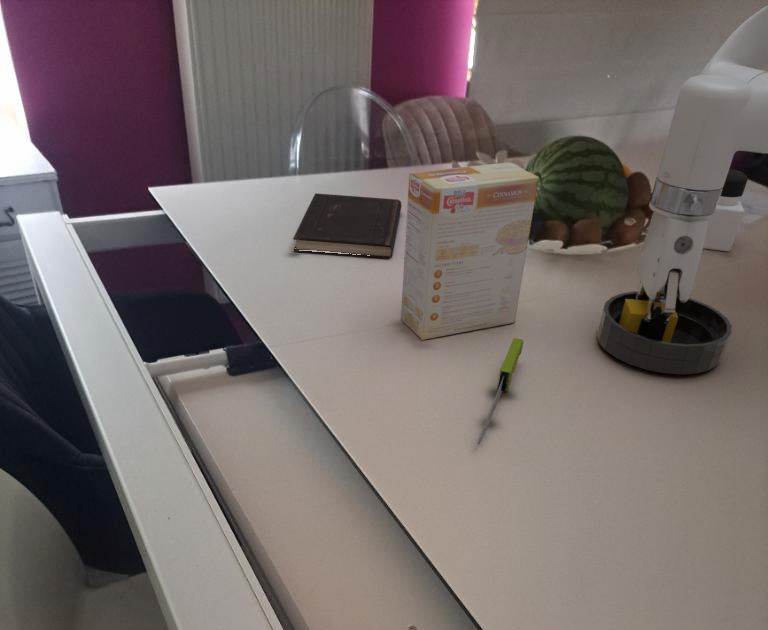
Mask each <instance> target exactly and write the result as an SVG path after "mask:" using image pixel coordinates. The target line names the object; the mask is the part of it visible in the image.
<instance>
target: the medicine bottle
mask: <svg viewBox="0 0 768 630" xmlns="http://www.w3.org/2000/svg"><path fill="white" fill-rule="evenodd" d="M748 180H749V179H748V175H747V174H745V173H744V172H742V171H740V170H737V169H733V168H729V171H728V174H727V177H726V180H725V183H724V186H723V189H722V192H721V195H720V198H719V201H718V204H717V207H716V210H715V214H714V216H713V217H712V218H711V219H708V225H707V232H706V237H705V242H704V246H703V250H704V249H705V250H710V251H711V250H712V251H719V252H726V253H727V252H728V253H729V252H731V251H732V248H733V245H734V242H735V240H736V237H737V234H738V231H739V228H740V226H741V223H742V219H743V217H744V214H745V209H744V207H743V205H742V203H741V200H742V198H743V195H744V192H745V189H746V186H747V183H748Z"/></svg>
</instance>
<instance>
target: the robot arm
mask: <svg viewBox="0 0 768 630" xmlns="http://www.w3.org/2000/svg"><path fill="white" fill-rule="evenodd" d="M767 68H768V4H767V5H766V6H764V7H763V8H760V10H758V11H757V12H755V13H754V14H752V15H751V16H750V17H748V18H747V19H746V20H744V21H743V22H742V23H741V24H740V25H739V26H738V27H737V28H736V29H735V30H734V31H733V32H732V33H730V35H729V36H728V38H727V39H726V40H725V41H724V42H723V44H722V45H721V46H720V48H719V49H717V50H716V52H715V54H714V55H713V56H712V57H711V58H710V60H709V61H708V62H707V63H706V65H705V66H704V68H703V69H702V71H701V72H700V74H698V75H695V76H691V77H689V78H688V79H687V80H686V81H685V82H684V83H683V84H682V86H681V87H680V91H679V94H678V96H677V101H676V103H675V108H674V111H673V115H672V119H671V123H670V125H669V130H668V132H667V133H668V134H667V136H666V141H665V145H664V148H663V152H662V154H661V155H662V156H661V160H660V162H659V167H658V169H657V170H658V171H657V174H656V178H655V181H654V185H653V189H652V191H651V192H652V193H651V196H650V201H649V204H648V207H649V209H650V210H651V211H652V214H651V219H650V221H649V224H648V228H647V231H646V234H645V237H644V241H643V245H642V247H641V251H640V255H639V259H638V265H637V276H638V278H639V286H638V287H637V288H638V289H637V294H636V300H646V301H648V306H647V310H646V315H645V319H644V318H642V319H641V323H640V326H639V329H638V333H637V334H638V335H641V336H644V337H647V338H650V339H654V340H658V341H662V339H663V336H664V333H665V329H666V326H667V324H668V322H669V318H670V315H672V314H673V313H674V312H675V306H676V298H677V296H678V298H679V300H680V301H681V302H683V303H685V302H686V301H687V300H688V299H689V298H690V297H691V293H692V290H693V288H694V287H693V286H694V282H695V280H696V276H697V273H698V269H699V265H700V262H701V258H702V254H703V250H704V249H703V246H704V242H705V237H706V232H707V225H708V219H711V218H712V217H713V216H714V214H715V210H716V207H717V204H718V201H719V198H720V195H721V192H722V189H723V186H724V183H725V180H726V177H727V174H728V171H729V169H731V165H732V161H733V158H734V156H735V154H736V153H737V152H739V151H741V152H750V153H757V154H768V71H766V69H767ZM661 292H662V293H664V297H663V296H660V294H661ZM655 302H660V303H662V305H661V306H660V307H656V308H655V309H654V305H655ZM653 309H654V310H653Z"/></svg>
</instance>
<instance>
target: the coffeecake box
mask: <svg viewBox="0 0 768 630" xmlns="http://www.w3.org/2000/svg"><path fill="white" fill-rule="evenodd" d="M539 179H540V177H539V176H538V175H536V174H534V173H532V172H530V171H527V170H526V169H524V168H522V167H521V166H520V165H518V164H516V163H513V162H510V161H509V162H499V163H490V164H480V165H471V166H462V167H451V168H441V169H432V170H421V171H411V172H409V177H408V192H407V207H406V208H407V209H406V223H405V224H406V225H405V240H404V241H405V243H404V257H403V272H402V273H403V274H402V276H403V277H402V292H401V308H400V321H402V322H403V324H404V325H406V326H407V327H408V328H409V329H411V330H412V331H413V332H414V334H415V335H416V336H417V337H418V338H419V339H420V340H421V341H424V340H428V339H429V340H430V339H434V338H439V337H445V336H450V335H455V334H462V333H466V332H472V331H476V330H477V331H478V330H482V329H488V328H493V327H498V326H504V325H509V324H514V323H515V322H516V316H517V312H518V311H517V310H518V305H519V298H520V294H521V287H522V281H523V275H524V269H525V264H526V258H527V257H526V256H527V251H528V246H529V239H530V233H531V227H532V222H533V221H532V220H533V216H534V215H533V214H534V209H535V201H536V198H537V197H536V196H537V192H538V191H537V190H538V184H539Z"/></svg>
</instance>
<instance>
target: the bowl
mask: <svg viewBox="0 0 768 630" xmlns="http://www.w3.org/2000/svg"><path fill="white" fill-rule="evenodd" d="M637 291H638V290H637ZM637 291H629V292H622V293H619V294H616V295H614V296H611V297H610V298H609V299H607V301H605V303H604V306H603V309H602V313H601V318H600V321H599V325H598V327H597V328H598V329H597V333H596V337H597V340H598V343H599V344H600V346H601V347H602V348H603V349H604V351H606V352H607V353H609V354H610V355H612V356H613V357H614V358H616V359H618V360H620V361H621V362H623V363H626V364H628V365H631V366H634V367H635V368H639V369H642V370H646V371H650V372H654V373H661V374H668V375H669V374H671V375H694V374H700V373H703V372H707V371H710V370H712V369H714V368H715V367H717V366H718V365H719V363H720V362H721V361H722V360H723V357H724V354H725V352H726V348H727V346H728V344H729V341H730V338H731V336H732V330H733V327H732V324H731V322H730V320H729V319H728V317H726V315H724V314H723V313H722V312H720V311H719V310H718V309H716V308H714V307H713V306H711V305H708V304H707V303H705V302H701V301H699V300H697V299H693V298H690V297H689V299H688V300H687V301H686V302H685V303H683V302H681V301H680V300H679V298H678V296H677V298H676V306H675V311H676V313H677V315H678V320H677V323H676V326H675V329H674V332H673V336H672V339H671V342H670V343H668V342H663V341H658V340H654V339H650V338H647V337H644V336H641V335H638V334H636V333H634V332H632V331H629V330H627V329H625V328H624V327H622V326H621V325H619V322H620V318H621V314H622V311H623V307H624V303H625V299H633V300H636V294H637ZM660 296H663V297H664V293H662V292H661V294H660Z"/></svg>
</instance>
